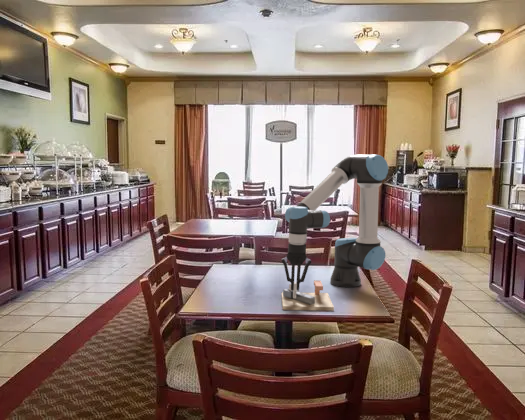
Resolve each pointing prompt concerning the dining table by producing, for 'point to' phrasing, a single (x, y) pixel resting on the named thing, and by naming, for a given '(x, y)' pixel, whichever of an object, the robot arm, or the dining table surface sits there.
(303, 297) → the link
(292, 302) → the board
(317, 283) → the keeper
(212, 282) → the dining table surface
